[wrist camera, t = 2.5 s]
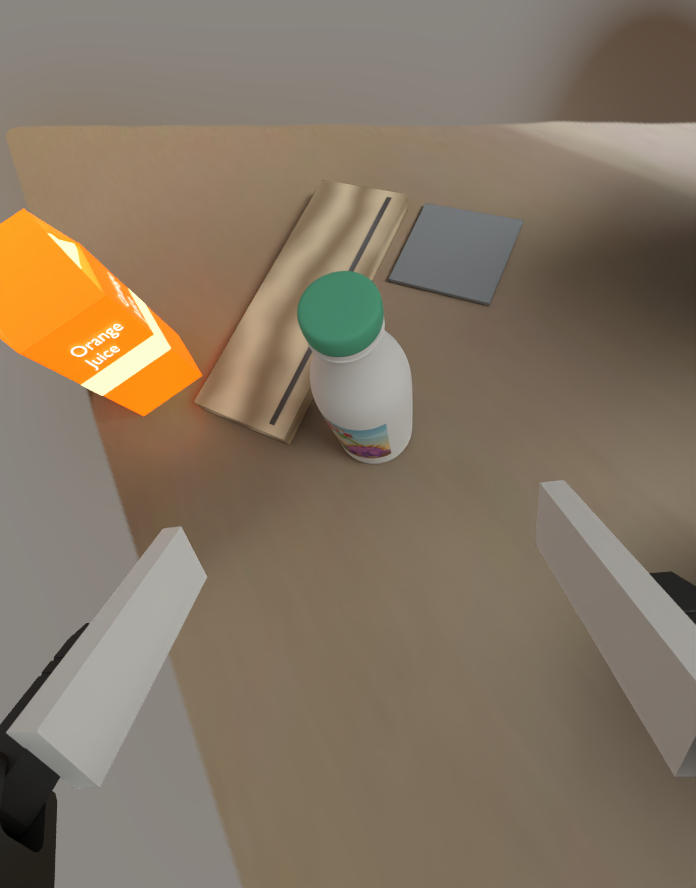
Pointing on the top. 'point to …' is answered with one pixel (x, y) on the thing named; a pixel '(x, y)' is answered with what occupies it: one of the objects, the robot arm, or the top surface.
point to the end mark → (456, 253)
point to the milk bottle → (356, 367)
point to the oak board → (275, 308)
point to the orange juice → (85, 319)
